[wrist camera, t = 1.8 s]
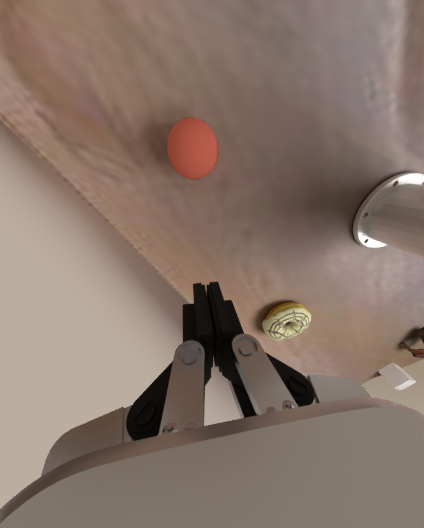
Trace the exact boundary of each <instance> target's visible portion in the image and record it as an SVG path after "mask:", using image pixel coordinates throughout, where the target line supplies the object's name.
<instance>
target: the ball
mask: <svg viewBox="0 0 424 528" xmlns="http://www.w3.org/2000/svg"><path fill="white" fill-rule="evenodd" d="M167 152H168V157H169V160H170V162H171V164H172V166H173V167H174V169H175V170H176V171H177V172H178V173H179V174H181V175H182V176H184V177H186V178H190V179H199V178H202V177H204V176H206V175H207V174H208V173H209V172H210V171H211V170H212V169H213V167H214V165H215V163H216V160H217V156H218V145H217V140H216V137H215V135H214V133H213V131H212V130H211V128H210V127H209V126H208V125H207V124H206V123H205V122H203V121H202V120H200V119H197V118H185V119H182V120H180V121H179V122H177V123H176V124H175V125H174V126H173V128H172V129H171V131H170V133H169V136H168V140H167Z"/></svg>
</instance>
